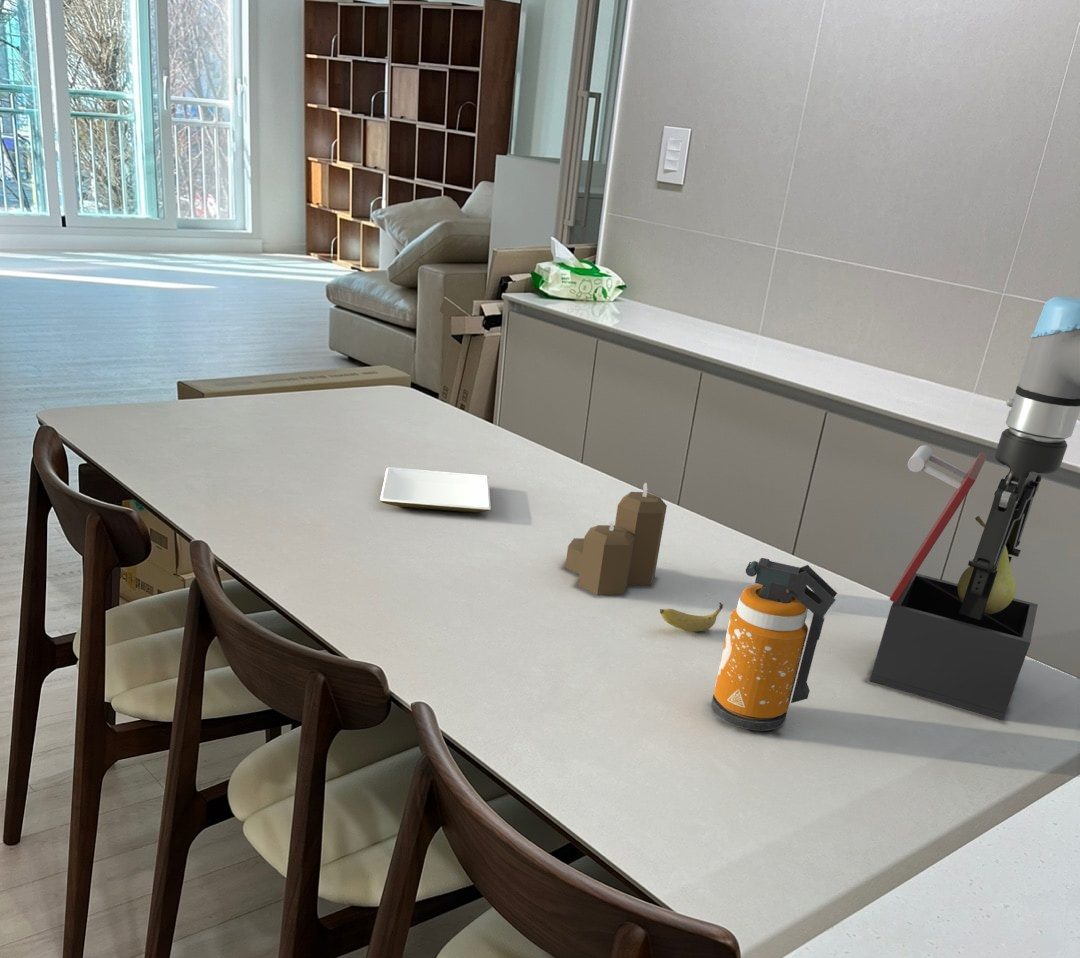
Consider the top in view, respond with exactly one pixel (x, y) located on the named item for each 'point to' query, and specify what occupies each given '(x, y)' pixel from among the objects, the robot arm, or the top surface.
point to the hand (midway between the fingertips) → (978, 607)
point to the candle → (620, 547)
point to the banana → (689, 620)
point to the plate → (436, 490)
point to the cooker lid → (918, 464)
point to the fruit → (1001, 587)
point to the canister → (770, 645)
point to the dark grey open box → (953, 648)
